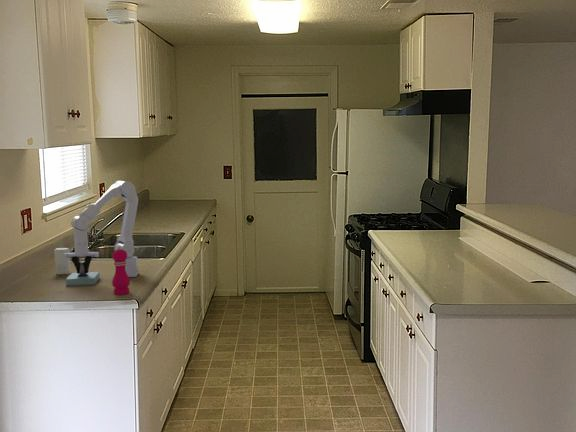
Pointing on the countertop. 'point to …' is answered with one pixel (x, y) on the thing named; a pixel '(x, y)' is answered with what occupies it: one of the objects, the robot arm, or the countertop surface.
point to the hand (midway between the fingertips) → (82, 273)
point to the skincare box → (62, 261)
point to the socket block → (82, 279)
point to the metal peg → (82, 269)
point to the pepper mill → (120, 272)
